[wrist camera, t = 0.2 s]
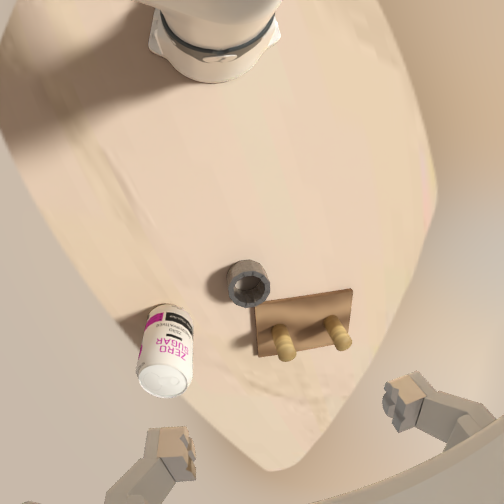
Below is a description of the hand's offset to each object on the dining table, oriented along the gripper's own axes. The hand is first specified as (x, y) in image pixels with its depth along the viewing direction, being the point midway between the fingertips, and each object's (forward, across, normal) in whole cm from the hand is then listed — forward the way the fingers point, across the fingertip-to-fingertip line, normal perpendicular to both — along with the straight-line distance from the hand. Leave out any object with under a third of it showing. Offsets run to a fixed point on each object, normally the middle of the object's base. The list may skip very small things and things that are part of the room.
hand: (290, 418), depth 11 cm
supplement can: (+41, +13, +16) cm, 46 cm away
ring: (+40, -1, +10) cm, 41 cm away
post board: (+41, -11, +22) cm, 48 cm away
